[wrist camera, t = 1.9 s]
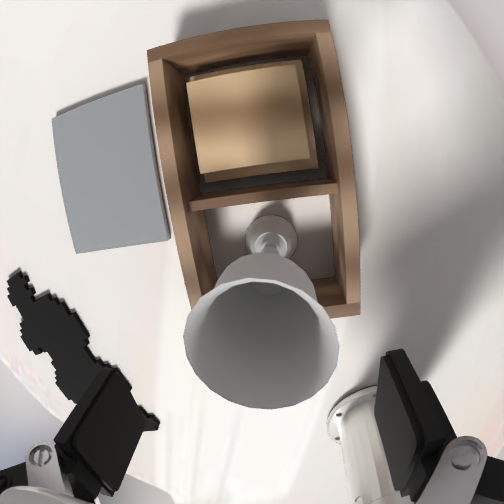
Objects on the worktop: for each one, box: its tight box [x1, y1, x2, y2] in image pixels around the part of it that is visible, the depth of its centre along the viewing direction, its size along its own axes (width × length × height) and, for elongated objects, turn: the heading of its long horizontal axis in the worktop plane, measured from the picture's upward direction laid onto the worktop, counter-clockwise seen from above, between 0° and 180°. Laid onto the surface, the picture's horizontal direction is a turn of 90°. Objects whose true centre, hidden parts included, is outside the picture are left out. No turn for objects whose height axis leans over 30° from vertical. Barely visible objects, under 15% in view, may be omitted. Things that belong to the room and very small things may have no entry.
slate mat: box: [52, 84, 170, 254], centre depth 29 cm, size 16×12×1 cm
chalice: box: [183, 215, 339, 409], centre depth 22 cm, size 7×7×18 cm
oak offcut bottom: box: [190, 59, 318, 183], centre depth 26 cm, size 10×10×2 cm
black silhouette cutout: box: [7, 271, 160, 432], centre depth 38 cm, size 16×1×30 cm
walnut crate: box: [147, 20, 360, 319], centre depth 25 cm, size 24×14×6 cm, turn 8°
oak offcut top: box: [186, 64, 310, 174], centre depth 24 cm, size 8×9×2 cm
